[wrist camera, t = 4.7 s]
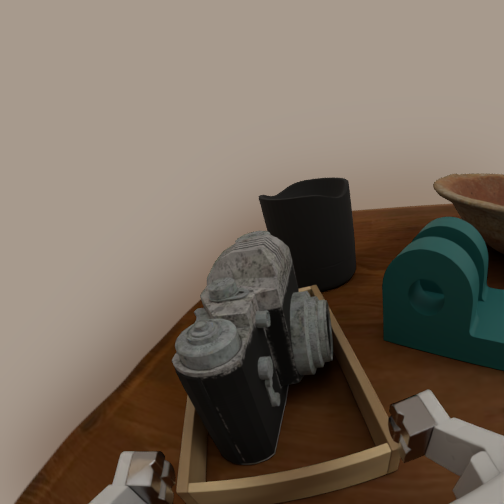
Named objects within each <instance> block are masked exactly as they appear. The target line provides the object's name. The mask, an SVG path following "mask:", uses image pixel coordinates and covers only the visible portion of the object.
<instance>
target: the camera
mask: <svg viewBox="0 0 504 504" xmlns="http://www.w3.org/2000/svg"><path fill="white" fill-rule="evenodd" d="M200 297H201V300H202V303H203V306H204V308H199V309H197V310H195V312H194V313H195V315H196V316H197V319H196V321H195V323H194V324H192V325H191V326H190V327H188V328H187V329H185V330H184V331H183V332H182V333H181V334H180V335H179V337H178V338H177V340H176V344H175V348H176V351H177V352H176V354H175V356H174V357H173V359H172V362H173V364H174V366H175V370H176V373H177V375H178V377H179V379H180V381H181V383H182V385H183V387H184V389H185V391H186V392H187V394H188V396H189V398H190V400H191V402H192V404H193V406H194V407H195V409H196V411H197V413H198V415H199V417H200V418H201V420H202V422H203V424H204V425H205V427H206V429H207V431H208V432H209V434H210V436H211V438H212V439H213V441H214V443H215V444H216V446H217V448H218V449H219V451H220V453H221V454H222V456H223V457H224V458H226V459H227V460H229V461H230V462H232V463H235V464H240V465H241V464H242V465H250V464H257V463H259V462H262V461H265V460H267V459H269V458H270V457H271V456H273V455H274V454H275V451H276V446H277V442H278V437H279V432H280V427H281V422H282V418H283V413H284V409H285V404H286V398H287V392H288V387H289V385H291V384H295V383H299V382H300V381H301V380H302V378H303V377H304V375H313V374H315V373H316V370H317V368H320V367H323V366H324V363H325V362H330V360H332V359H333V339H332V327H331V319H330V312H329V307H328V303H327V300H326V301H324V300H319V299H318V297H317V296H314V297H311V296H310V294H309V293H308V291H303V292H299V290H298V285H297V280H296V276H295V271H294V266H293V262H292V258H291V254H290V250H289V247H288V246H287V245H286V244H284V243H283V242H282V241H281V240H279V239H278V238H277V237H274V236H272V235H271V234H270V232H268V231H256V232H251V233H248V234H245V235H243V236H241V237H240V238H238V239H237V240H236V243H235V244H234V245H232V246H231V247H229V248H228V249H226V250H225V251H223V252H222V254H221V255H220V256H219V257H218V259H217V260H216V261H215V263H214V265H213V267H212V269H211V271H210V273H209V275H208V277H207V286H206V288H205V289H204V290H203V292H202V293H201V295H200Z"/></svg>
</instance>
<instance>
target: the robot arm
mask: <svg viewBox="0 0 504 504" xmlns="http://www.w3.org/2000/svg"><path fill="white" fill-rule="evenodd" d="M389 412H390V414H391V416H390V417H389V419H388V427H389V432H390V435H391V437H392V440H393V441H394V442H396V443H398V452H399V454H400V456H401V459H402V461H403V463H406V462H409V461H411V460H414V459H416V458H419V457H421V456H424V455H425V456H426V457H428V458H429V459H431V460H433V461H434V462H436V463H438V464H439V465H441V466H443V467H445V468H446V469H448V470H450V471H452V472H453V473H455V474H457V475H459V476H460V478H459V480H458V482H457V483H456V485H455V487H454V489H453V492H454V494H455V496H456V498H457V500H455V501H453V502H451V503H449V504H504V436H502V435H500V434H497V433H494V432H491V431H489V430H486V429H483V428H480V427H478V426H475V425H472V424H470V423H467V422H465V421H462V420H459V419H457V418H451V419H450V417H449V416H448V414H447V413H446V411H445V410H444V409H443V407H442V406H441V404H440V403H439V401H438V400H437V399H436V397H435V396H434V394H433V393H432V391H430V390H426V391H424V392H421V393H419V394H417V395H413V396H411V397H408V398H406V399H403V400H401V401H398V402H396V403H393V404H391V405H390V408H389ZM164 459H165V456H164V454H163V453H162V452H161V451H145V452H136V451H123V452H122V453H121V455H120V458H119V462H118V465H117V469H116V473H115V476H114V480H113V484H112V485H108V486H107V487H106V488H105V489H104V490H103V491H102V492H101V493H100V494H99V495H97V496H96V497H95V498H94V499H93V500H92V501H91V502H90V503H89V504H173V497H174V493H173V492H172V490H171V488H172V487H173V486H174V485H175V471H174V468H173V466H172V465H171V463H170V462H168V461H166V460H164Z"/></svg>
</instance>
